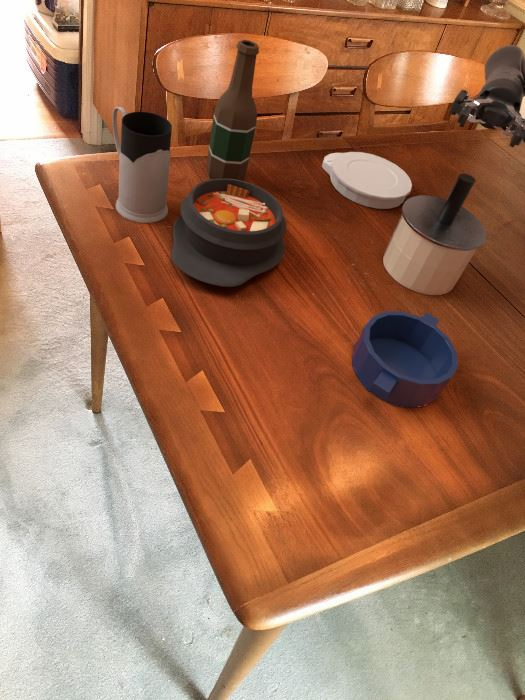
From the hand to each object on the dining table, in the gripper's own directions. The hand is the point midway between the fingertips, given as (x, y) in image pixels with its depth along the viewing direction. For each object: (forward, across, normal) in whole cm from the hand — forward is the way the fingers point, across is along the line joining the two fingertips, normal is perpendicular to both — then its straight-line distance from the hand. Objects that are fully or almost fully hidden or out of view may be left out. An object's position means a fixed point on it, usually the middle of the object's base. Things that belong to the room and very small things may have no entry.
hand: (489, 131), depth 88 cm
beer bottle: (+4, -41, +24) cm, 48 cm away
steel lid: (+8, 0, +13) cm, 15 cm away
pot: (+8, 0, +23) cm, 25 cm away
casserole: (+25, -30, +24) cm, 46 cm away
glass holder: (+23, -50, +24) cm, 60 cm away
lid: (-14, -18, +23) cm, 32 cm away
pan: (+35, +2, +24) cm, 42 cm away
